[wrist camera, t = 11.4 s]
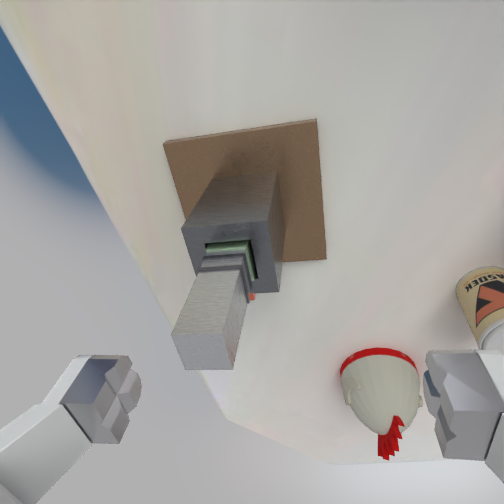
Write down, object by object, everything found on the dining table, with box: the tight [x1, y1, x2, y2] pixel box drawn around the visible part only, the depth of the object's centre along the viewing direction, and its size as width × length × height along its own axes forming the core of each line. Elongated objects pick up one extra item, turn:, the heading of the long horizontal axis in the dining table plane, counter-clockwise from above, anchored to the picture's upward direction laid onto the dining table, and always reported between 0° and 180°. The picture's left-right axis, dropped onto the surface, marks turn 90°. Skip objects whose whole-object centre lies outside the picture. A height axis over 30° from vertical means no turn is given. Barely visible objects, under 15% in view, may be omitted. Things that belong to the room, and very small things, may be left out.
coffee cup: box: [456, 267, 504, 355], centre depth 47 cm, size 9×9×12 cm
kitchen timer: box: [340, 348, 423, 460], centre depth 60 cm, size 14×14×15 cm
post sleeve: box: [163, 119, 327, 300], centre depth 43 cm, size 20×20×16 cm
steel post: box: [171, 240, 256, 370], centre depth 35 cm, size 4×4×20 cm
